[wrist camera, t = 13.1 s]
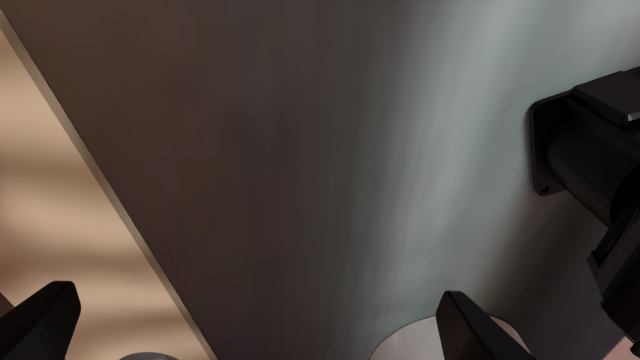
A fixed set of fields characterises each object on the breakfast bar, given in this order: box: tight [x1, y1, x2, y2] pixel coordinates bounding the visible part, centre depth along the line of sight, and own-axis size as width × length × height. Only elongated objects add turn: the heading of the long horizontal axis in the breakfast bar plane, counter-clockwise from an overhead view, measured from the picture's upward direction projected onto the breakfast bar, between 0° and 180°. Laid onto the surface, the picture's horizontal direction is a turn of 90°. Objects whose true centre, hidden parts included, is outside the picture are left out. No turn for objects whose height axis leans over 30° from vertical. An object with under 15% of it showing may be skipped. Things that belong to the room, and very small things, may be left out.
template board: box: [0, 8, 218, 360], centre depth 25 cm, size 33×10×1 cm, turn 13°
